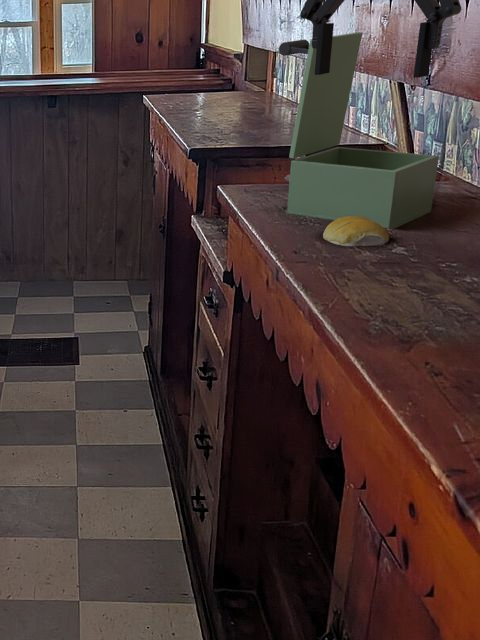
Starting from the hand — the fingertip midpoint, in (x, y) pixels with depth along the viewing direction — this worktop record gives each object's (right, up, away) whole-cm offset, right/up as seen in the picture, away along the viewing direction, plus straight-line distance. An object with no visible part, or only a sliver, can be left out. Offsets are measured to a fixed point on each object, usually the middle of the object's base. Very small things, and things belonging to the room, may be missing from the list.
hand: (369, 75), depth 115 cm
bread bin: (+8, -14, +24) cm, 29 cm away
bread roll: (+1, -22, +8) cm, 23 cm away
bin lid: (+3, +4, +22) cm, 22 cm away
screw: (+5, -7, +42) cm, 43 cm away
